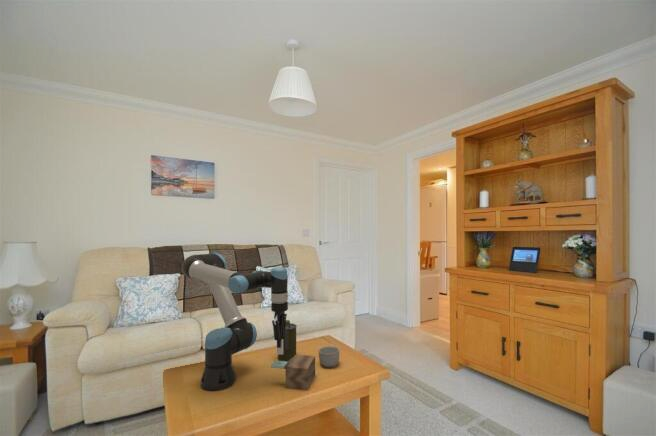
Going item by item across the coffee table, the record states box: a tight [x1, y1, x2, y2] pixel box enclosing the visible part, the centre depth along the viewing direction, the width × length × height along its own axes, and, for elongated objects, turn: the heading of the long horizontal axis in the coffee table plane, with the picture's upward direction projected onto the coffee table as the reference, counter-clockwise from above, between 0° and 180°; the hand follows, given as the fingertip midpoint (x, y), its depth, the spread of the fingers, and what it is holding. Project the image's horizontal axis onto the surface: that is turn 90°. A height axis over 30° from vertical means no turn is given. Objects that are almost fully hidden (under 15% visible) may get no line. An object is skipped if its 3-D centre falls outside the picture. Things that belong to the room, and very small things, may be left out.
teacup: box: [318, 344, 340, 368], centre depth 166 cm, size 14×11×8 cm
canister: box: [277, 319, 297, 362], centre depth 173 cm, size 11×10×20 cm
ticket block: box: [285, 354, 316, 391], centre depth 147 cm, size 10×14×9 cm
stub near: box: [270, 360, 289, 370], centre depth 145 cm, size 7×5×1 cm
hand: (280, 353), depth 145 cm, fingers closed
